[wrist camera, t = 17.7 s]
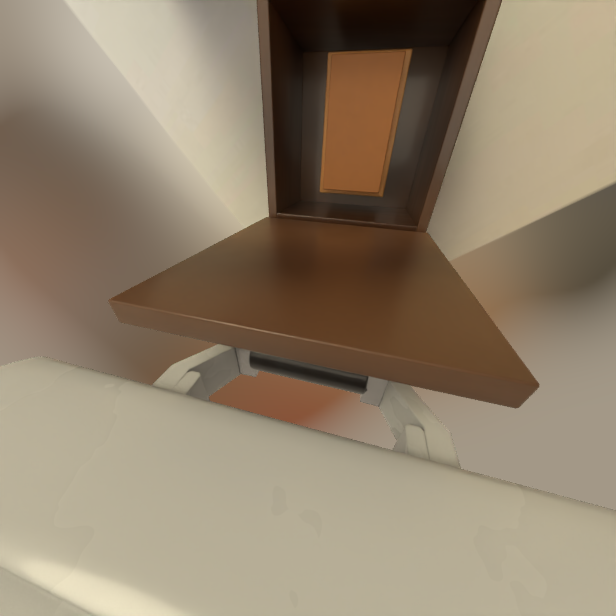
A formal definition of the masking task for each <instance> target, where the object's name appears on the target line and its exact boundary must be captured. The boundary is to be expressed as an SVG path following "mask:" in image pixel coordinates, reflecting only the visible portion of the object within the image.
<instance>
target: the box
mask: <svg viewBox="0 0 616 616" xmlns="http://www.w3.org/2000/svg"><path fill="white" fill-rule="evenodd" d="M501 3H502V0H257V15H258V32H259V49H260V66H261V84H262V101H263V118H264V136H265V153H266V170H267V187H268V205H269V217H270V218H280V219H291V220H301V221H311V222H321V223H332V224H342V225H352V226H362V227H372V228H383V229H393V230H403V231H413V232H423V233H426V231H427V228H428V225H429V222H430V219H431V216H432V213H433V210H434V206H435V203H436V200H437V197H438V194H439V191H440V188H441V185H442V182H443V179H444V176H445V173H446V170H447V167H448V164H449V161H450V158H451V155H452V152H453V149H454V146H455V143H456V140H457V136H458V133H459V130H460V127H461V124H462V121H463V118H464V115H465V112H466V109H467V106H468V103H469V100H470V97H471V94H472V91H473V88H474V85H475V82H476V79H477V76H478V73H479V69H480V66H481V63H482V60H483V57H484V54H485V51H486V48H487V45H488V42H489V39H490V36H491V33H492V30H493V27H494V24H495V21H496V18H497V15H498V12H499V9H500V6H501ZM392 49H412V50H413V51H412V56H411V61H410V66H409V71H408V76H407V81H406V85H405V90H404V95H403V100H402V105H401V110H400V115H399V120H398V125H397V130H396V135H395V140H394V144H393V149H392V154H391V159H390V164H389V169H388V174H387V179H386V184H385V189H384V194H383V197H376V196H362V195H349V194H335V193H321V192H320V180H321V163H322V146H323V129H324V112H325V96H326V79H327V62H328V53H329V52H345V51H369V50H392Z"/></svg>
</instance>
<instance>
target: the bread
mask: <svg viewBox="0 0 616 616" xmlns="http://www.w3.org/2000/svg"><path fill="white" fill-rule="evenodd" d="M412 51H413V50H412V49H392V50H369V51H345V52H329V53H328V62H327V79H326V96H325V112H324V129H323V146H322V163H321V180H320V192H321V193H335V194H349V195H362V196H376V197H383V194H384V189H385V184H386V179H387V174H388V169H389V164H390V159H391V154H392V149H393V144H394V140H395V135H396V130H397V125H398V120H399V115H400V110H401V105H402V100H403V95H404V90H405V85H406V81H407V76H408V71H409V66H410V61H411V56H412Z"/></svg>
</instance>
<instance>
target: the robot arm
mask: <svg viewBox="0 0 616 616" xmlns="http://www.w3.org/2000/svg"><path fill="white" fill-rule="evenodd" d="M249 356H250V351H249V350H244V349H240V348H235V347H230V346H226V345H221V344H218V345H216V346H213V347H211V348H209V349H207V350H205V351H202V352H200V353H198V354H196V355H193V356H191V357H189V358H186V359H184V360H182V361H180V362H178V363H175V364H173V365H171V366H170V367H169V368H168V369H167V370H166V372H164V373H163V374H162V375H161V376H160V378H159V379H158V380H156V382H155V383H154V384H153V385H148V384H144V383H141V382H137V381H133V380H129V379H126V378H122V377H119V376H115V375H111V374H107V373H104V372H100V371H96V370H93V369H89V368H85V367H81V366H78V365H74V364H70V363H67V362H63V361H59V360H56V359H52V358H48V357H34V358H30V359H26V360H21V361H17V362H14V363H10V364H7V365H3V366H0V616H616V510H613V509H609V508H605V507H602V506H598V505H594V504H590V503H586V502H583V501H579V500H575V499H571V498H568V497H564V496H560V495H557V494H553V493H549V492H545V491H542V490H538V489H534V488H530V487H527V486H523V485H519V484H516V483H512V482H508V481H505V480H501V479H497V478H493V477H490V476H486V475H482V474H479V473H475V472H471V471H468V470H464V469H461V467H460V464H459V460H458V456H457V453H456V449H455V446H454V442H453V439H452V435H451V433H450V432H449V431H448V429H447V428H446V427H445V426H444V425H443V424H442V422H441V421H440V420H439V419H438V418H437V417H436V415H434V413H433V412H432V411H431V410H430V408H429V407H428V406H427V405H426V404H425V402H424V401H423V400H422V399H421V398H420V397H419V396H418V394H417V393H416V392H415V391H414V390H413V388H412V387H411V386H410V385H406V384H401V383H396V382H392V381H387V380H383V379H378V378H373V377H368V383H367V388H366V391H365V393H364V394H361V396H360V402H363V403H367V404H371V405H375V406H378V407H379V409H380V410H381V412H382V414H383V416H384V418H385V420H386V422H387V423H388V425H389V427H390V429H391V431H392V432H393V434H394V436H395V438H396V440H397V442H396V444H395V446H394V448H393V450H390V449H386V448H382V447H379V446H375V445H370V444H367V443H364V442H360V441H356V440H352V439H349V438H345V437H341V436H337V435H334V434H330V433H326V432H322V431H319V430H315V429H311V428H308V427H304V426H300V425H297V424H293V423H289V422H285V421H282V420H278V419H274V418H270V417H267V416H263V415H259V414H256V413H252V412H248V411H245V410H241V409H237V408H233V407H230V406H226V405H222V404H219V403H215V402H211V401H210V400H209V396H210V395H212V394H213V393H214V392H216V391H217V390H218V389H220V388H221V387H223V386H224V385H226V384H227V383H228V382H230V381H231V380H233V379H234V378H236V377H237V376H238V375H240V374H244V375H250V376H254V377H256V376H257V374H258V372H259V370H255V369H252V368H251V367H250V364H249Z"/></svg>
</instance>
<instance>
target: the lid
mask: <svg viewBox="0 0 616 616" xmlns="http://www.w3.org/2000/svg"><path fill="white" fill-rule="evenodd" d="M108 302H109V304H110V306H111V307H112V309H113V311H114V313H115V315H116V317H117V318H118V320H119V322H121V323H124V324H129V325H134V326H138V327H143V328H148V329H153V330H157V331H161V332H166V333H171V334H176V335H180V336H185V337H189V338H194V339H198V340H203V341H207V342H212V343H217V344H221V345H226V346H230V347H235V348H240V349H244V350H249V351H250V356H249V364H250V367H251V368H252V369H255V370H259V371H264V372H268V373H272V374H276V375H281V376H285V377H289V378H294V379H298V380H302V381H307V382H311V383H316V384H319V385H324V386H328V387H333V388H337V389H342V390H345V391H350V392H354V393H358V394H364V393H365V391H366V388H367V383H368V377H373V378H378V379H383V380H387V381H392V382H396V383H401V384H406V385H410V386H415V387H420V388H425V389H429V390H433V391H438V392H443V393H448V394H452V395H456V396H461V397H466V398H471V399H475V400H479V401H484V402H489V403H494V404H498V405H503V406H507V407H512V408H519V407H520V406H521V405H522V404H523V403H524V402H525V401H526V400H527V399H528V398H529V397H530V396H531V395H532V394H533V393H534V392H535V391H536V390H537V389H538V388H539V383H538V382H537V380H536V379H535V378H534V376H533V375H532V374H531V372H530V371H529V369H528V368H527V367H526V365H525V364H524V363H523V361H522V360H521V359H520V357H519V356H518V355H517V353H516V352H515V350H514V349H513V348H512V346H511V345H510V344H509V342H508V341H507V340H506V339H505V337H504V336H503V334H502V333H501V331H500V330H499V329H498V327H497V326H496V325H495V323H494V322H493V321H492V319H491V318H490V317H489V315H488V314H487V313H486V311H485V310H484V308H483V307H482V306H481V304H480V303H479V302H478V300H477V299H476V298H475V296H474V295H473V294H472V292H471V291H470V289H469V288H468V287H467V285H466V284H465V283H464V282H463V280H462V279H461V277H460V276H459V275H458V273H457V272H456V270H455V269H454V268H453V267H452V265H451V264H450V262H449V261H448V260H447V258H446V257H445V256H444V254H443V253H442V251H441V250H440V249H439V247H438V246H437V245H436V243H435V242H434V241H433V239H432V238H431V237H430V235H429V234H428V233H423V232H413V231H403V230H393V229H383V228H372V227H362V226H352V225H342V224H332V223H321V222H311V221H301V220H291V219H280V218H270V217H266V218H264V219H262V220H260V221H258V222H256V223H254V224H252V225H251V226H249V227H247V228H245V229H243V230H241V231H239V232H237V233H235V234H233V235H231V236H230V237H228V238H226V239H224V240H222V241H220V242H218V243H216V244H214V245H212V246H210V247H209V248H207V249H205V250H203V251H201V252H199V253H197V254H195V255H193V256H191V257H189V258H187V259H186V260H184V261H182V262H180V263H178V264H176V265H174V266H172V267H170V268H168V269H167V270H165V271H163V272H161V273H159V274H157V275H155V276H153V277H151V278H149V279H147V280H146V281H144V282H142V283H140V284H138V285H136V286H134V287H132V288H130V289H128V290H126V291H125V292H123V293H121V294H119V295H117V296H115V297H113V298H111V299H109V300H108Z"/></svg>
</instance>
